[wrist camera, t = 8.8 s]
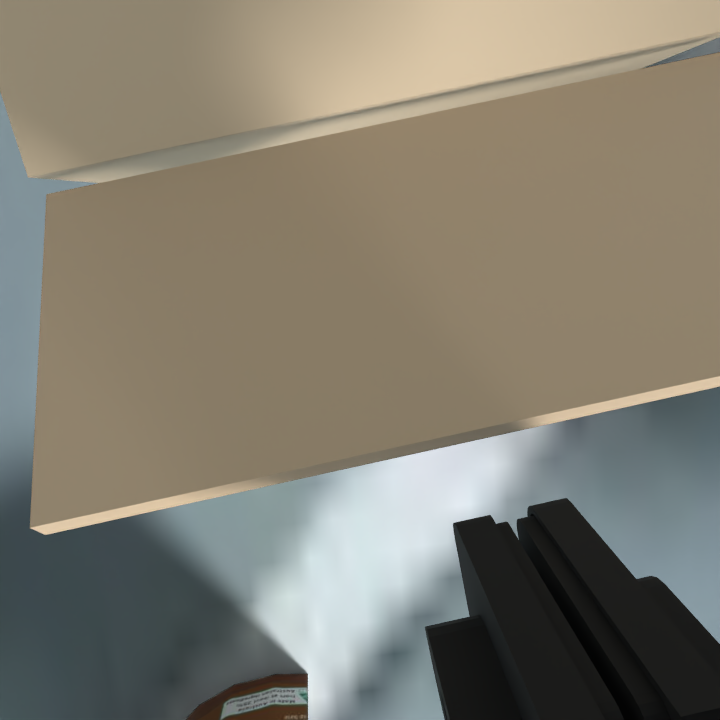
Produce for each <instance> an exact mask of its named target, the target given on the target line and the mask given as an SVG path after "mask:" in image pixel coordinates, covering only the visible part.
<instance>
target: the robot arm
mask: <svg viewBox="0 0 720 720" xmlns="http://www.w3.org/2000/svg"><path fill="white" fill-rule="evenodd" d="M453 528H454V535H455V541H456V546H457V552H458V557H459V562H460V567H461V573H462V578H463V583H464V589H465V594H466V599H467V605H468V610H469V615H470V617H466V618H462V619H457V620H453V621H449V622H444V623H440V624H435V625H431V626H426V627H425V630H426V635H427V640H428V645H429V650H430V655H431V659H432V664H433V669H434V674H435V678H436V683H437V688H438V692H439V696H440V701H441V705H442V710H443V714H444V718H445V720H720V644H719V643H718V642H717V641H716V640H715V639H714V637H713V636H712V635H711V634H710V633H709V632H708V631H707V630H706V629H705V628H704V627H703V625H702V624H701V623H700V622H699V621H698V620H697V619H696V618H695V617H694V616H693V614H692V613H691V612H690V611H689V610H688V609H687V608H686V607H685V606H684V605H683V603H682V602H681V601H680V600H679V599H678V598H677V597H676V596H675V595H674V594H673V593H672V591H671V590H670V589H669V588H668V587H667V586H666V585H665V584H664V583H663V582H662V581H661V580H659V579H658V578H657V577H653V576H649V577H644V578H640V579H636V578H635V577H634V576H633V575H632V574H631V572H630V571H629V570H628V569H627V568H626V567H625V565H624V564H623V563H622V562H621V561H620V560H619V558H618V557H617V556H616V555H615V554H614V552H613V551H612V550H611V549H610V548H609V547H608V545H607V544H606V543H605V542H604V541H603V539H602V538H601V537H600V536H599V535H598V534H597V532H596V531H595V530H594V529H593V528H592V527H591V525H590V524H589V523H588V522H587V521H586V519H585V518H584V517H583V516H582V515H581V514H580V512H579V511H578V510H577V509H576V508H575V507H574V505H573V504H572V503H571V502H570V501H569V500H568V499H567V498H564V499H560V500H555V501H551V502H546V503H542V504H537V505H533V506H529V507H528V517H525V518H521V519H518V520H517V531H518V537H519V540H518V538H517V537H516V535H515V533H514V532H513V530H512V528H511V527H510V525H509V524H508V522H503V523H498V524H496V523H495V522H494V520H493V518H492V517H491V515H488V516H483V517H479V518H474V519H470V520H465V521H461V522H456V523H453Z"/></svg>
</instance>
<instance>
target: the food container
mask: <svg viewBox="0 0 720 720" xmlns="http://www.w3.org/2000/svg"><path fill="white" fill-rule="evenodd" d="M186 720H308V674H275V675H271V676H267V677H263V678H259V679H255V680H251V681H247V682H243V683H239V684H235V685H233V686H231V687H229V688H228V689H226V690H224V691H223V692H221V693H219V694H217V695H216V696H214V697H212V698H210V699H209V700H207V701H205V702H204V703H202V704H200V705H199V706H198V707H197V708H196V709H195V710H194V711H193V712H192V713H191V714H190V716H189V717H188V718H187V719H186Z"/></svg>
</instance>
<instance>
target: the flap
mask: <svg viewBox="0 0 720 720" xmlns="http://www.w3.org/2000/svg"><path fill="white" fill-rule="evenodd" d="M719 386H720V52H718V53H713V54H709V55H704V56H699V57H694V58H690V59H685V60H680V61H675V62H671V63H666V64H661V65H657V66H652V67H647V68H642V69H638V70H633V71H628V72H623V73H619V74H614V75H609V76H604V77H600V78H595V79H590V80H586V81H581V82H576V83H571V84H567V85H562V86H557V87H552V88H548V89H543V90H538V91H533V92H529V93H524V94H519V95H515V96H510V97H505V98H500V99H496V100H491V101H486V102H481V103H477V104H472V105H467V106H463V107H458V108H453V109H448V110H444V111H439V112H434V113H429V114H425V115H420V116H415V117H410V118H406V119H401V120H396V121H392V122H387V123H382V124H377V125H373V126H368V127H363V128H358V129H354V130H349V131H344V132H339V133H335V134H330V135H325V136H321V137H316V138H311V139H306V140H302V141H297V142H292V143H287V144H283V145H278V146H273V147H268V148H264V149H259V150H254V151H250V152H245V153H240V154H235V155H231V156H226V157H221V158H216V159H212V160H207V161H202V162H198V163H193V164H188V165H183V166H179V167H174V168H169V169H164V170H160V171H155V172H150V173H145V174H141V175H136V176H131V177H127V178H122V179H117V180H112V181H108V182H103V183H98V184H93V185H89V186H84V187H79V188H74V189H70V190H65V191H60V192H56V193H51V194H47V195H46V215H45V235H44V255H43V275H42V295H41V315H40V335H39V355H38V375H37V395H36V415H35V435H34V455H33V475H32V495H31V515H30V528H31V529H33V530H36V531H38V532H40V533H42V534H44V535H47V534H52V533H56V532H61V531H65V530H70V529H75V528H79V527H84V526H88V525H93V524H97V523H102V522H106V521H111V520H115V519H120V518H125V517H129V516H134V515H138V514H143V513H147V512H152V511H156V510H161V509H165V508H170V507H174V506H179V505H184V504H188V503H193V502H197V501H202V500H206V499H211V498H215V497H220V496H224V495H229V494H234V493H238V492H243V491H247V490H252V489H256V488H261V487H265V486H270V485H274V484H279V483H283V482H288V481H293V480H297V479H302V478H306V477H311V476H315V475H320V474H324V473H329V472H333V471H338V470H343V469H347V468H352V467H356V466H361V465H365V464H370V463H374V462H379V461H383V460H388V459H392V458H397V457H402V456H406V455H411V454H415V453H420V452H424V451H429V450H433V449H438V448H442V447H447V446H452V445H456V444H461V443H465V442H470V441H474V440H479V439H483V438H488V437H492V436H497V435H501V434H506V433H511V432H515V431H520V430H524V429H529V428H533V427H538V426H542V425H547V424H551V423H556V422H561V421H565V420H570V419H574V418H579V417H583V416H588V415H592V414H597V413H601V412H606V411H610V410H615V409H620V408H624V407H629V406H633V405H638V404H642V403H647V402H651V401H656V400H660V399H665V398H670V397H674V396H679V395H683V394H688V393H692V392H697V391H701V390H706V389H710V388H715V387H719Z"/></svg>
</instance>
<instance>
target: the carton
mask: <svg viewBox="0 0 720 720" xmlns="http://www.w3.org/2000/svg"><path fill="white" fill-rule="evenodd" d="M719 37H720V0H0V92H1V95H2V98H3V101H4V104H5V107H6V110H7V113H8V116H9V119H10V123H11V126H12V129H13V132H14V135H15V138H16V141H17V144H18V147H19V150H20V153H21V157H22V160H23V163H24V166H25V169H26V172H27V175H28V177H29V178H42V179H55V180H68V181H81V182H94V183H103V182H108V181H112V180H117V179H122V178H127V177H131V176H136V175H141V174H145V173H150V172H155V171H160V170H164V169H169V168H174V167H179V166H183V165H188V164H193V163H198V162H202V161H207V160H212V159H216V158H221V157H226V156H231V155H235V154H240V153H245V152H250V151H254V150H259V149H264V148H268V147H273V146H278V145H283V144H287V143H292V142H297V141H302V140H306V139H311V138H316V137H321V136H325V135H330V134H335V133H339V132H344V131H349V130H354V129H358V128H363V127H368V126H373V125H377V124H382V123H387V122H392V121H396V120H401V119H406V118H410V117H415V116H420V115H425V114H429V113H434V112H439V111H444V110H448V109H453V108H458V107H463V106H467V105H472V104H477V103H481V102H486V101H491V100H496V99H500V98H505V97H510V96H515V95H519V94H524V93H529V92H533V91H538V90H543V89H548V88H552V87H557V86H562V85H567V84H571V83H576V82H581V81H586V80H590V79H595V78H600V77H604V76H609V75H614V74H619V73H623V72H628V71H633V70H638V69H642V68H644V67H647V66H649V65H652V64H654V63H657V62H659V61H661V60H664V59H666V58H669V57H671V56H674V55H676V54H679V53H681V52H684V51H686V50H689V49H691V48H694V47H696V46H699V45H701V44H704V43H706V42H709V41H711V40H714V39H716V38H719Z"/></svg>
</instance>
